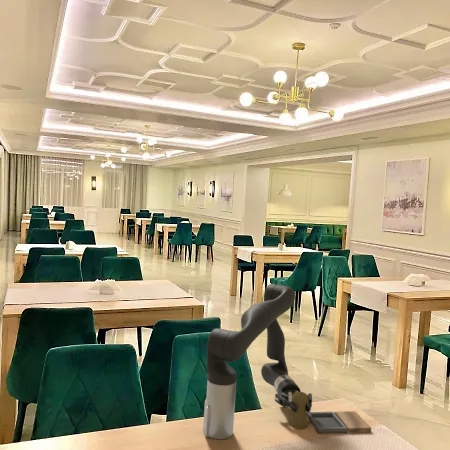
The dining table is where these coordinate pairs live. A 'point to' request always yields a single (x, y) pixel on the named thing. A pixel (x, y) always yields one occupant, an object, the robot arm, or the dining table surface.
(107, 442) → the dining table surface
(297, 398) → the cork
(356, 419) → the light brown wooden board
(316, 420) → the shallow grey tray
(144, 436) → the dining table surface
